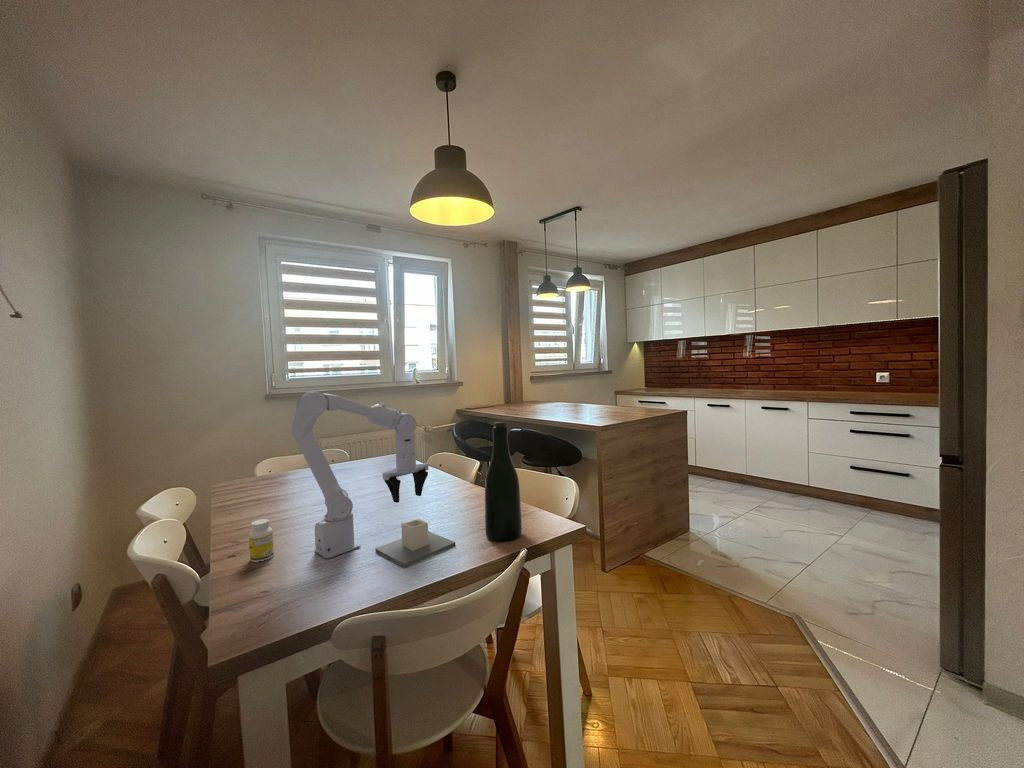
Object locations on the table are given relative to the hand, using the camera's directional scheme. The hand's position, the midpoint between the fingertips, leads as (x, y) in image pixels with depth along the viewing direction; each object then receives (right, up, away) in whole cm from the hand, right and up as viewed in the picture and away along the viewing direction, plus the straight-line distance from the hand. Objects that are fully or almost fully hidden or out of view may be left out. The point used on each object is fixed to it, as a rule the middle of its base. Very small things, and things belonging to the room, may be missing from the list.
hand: (407, 498), depth 120 cm
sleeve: (+5, -10, -11) cm, 15 cm away
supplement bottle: (-35, -12, -13) cm, 39 cm away
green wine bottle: (+29, -10, -4) cm, 31 cm away
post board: (+5, -11, -11) cm, 16 cm away
